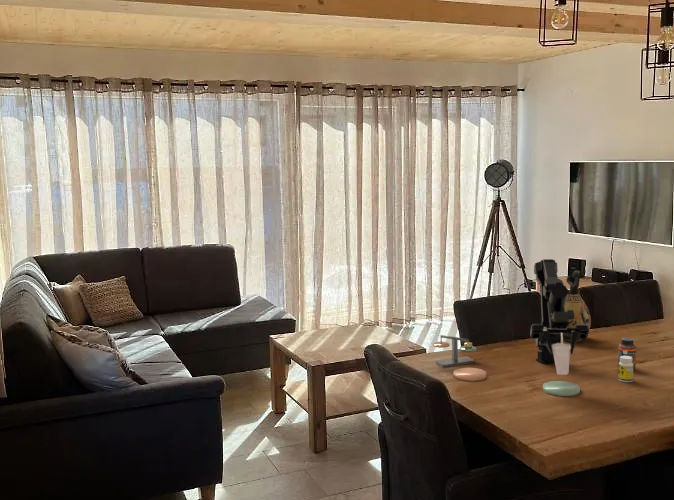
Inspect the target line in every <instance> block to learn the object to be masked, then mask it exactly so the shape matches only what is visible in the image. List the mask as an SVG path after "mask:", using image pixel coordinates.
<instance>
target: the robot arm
mask: <svg viewBox="0 0 674 500" xmlns="http://www.w3.org/2000/svg"><path fill="white" fill-rule="evenodd" d="M558 271H559V269H558V262H557V261H556V259H553V258H552V259H550V258H549V259H548V258H546V259H541V260H540V261H538V262H535V263H534V264H533V273H534V275H535V279H536V280H535V281H536V282H538V284H539V286H540V305H541V306H540V307H541V310H540V311H541V323H532V325H530V332H529V333H530V338H531V339H534V340H535V345H536V348H538V350H537V358H535V361H537V362H540V363H542V364H544V365H551V364H555V360H554V355H553V350H552V346H551V345H553V344H556V343H561V335H560V334H561V333H563V334H571V338H570V341H569V344H570V345H571V349H570V355H573V352H574V349H575V345H576V343H577V342H576V341H578V342H580V341H579V339H582V340H587V339H588V336H589V333H590V329H589V327H588V326H587V325H583V324H576V327H575V328H567V326H568V325H569V320H574V310H568V311H567V312H565V304H566V301H567V296H568V294H569V290H570V289H568V287H567V286H566V285H565V284H564V281H563V279H560V278H559V277H558Z"/></svg>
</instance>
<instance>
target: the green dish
mask: <svg viewBox="0 0 674 500" xmlns="http://www.w3.org/2000/svg"><path fill="white" fill-rule="evenodd" d="M542 390H543V391H544V393H546V394H549V395H552V396H558V397H572V396H573V397H575V396H577V395H579V394H580V393H581V387H580V386H579V385H578V384H576V383H574V382H569V381H566V380H565V381H562V380H552V381H546V382H544V383H543V384H542Z"/></svg>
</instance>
